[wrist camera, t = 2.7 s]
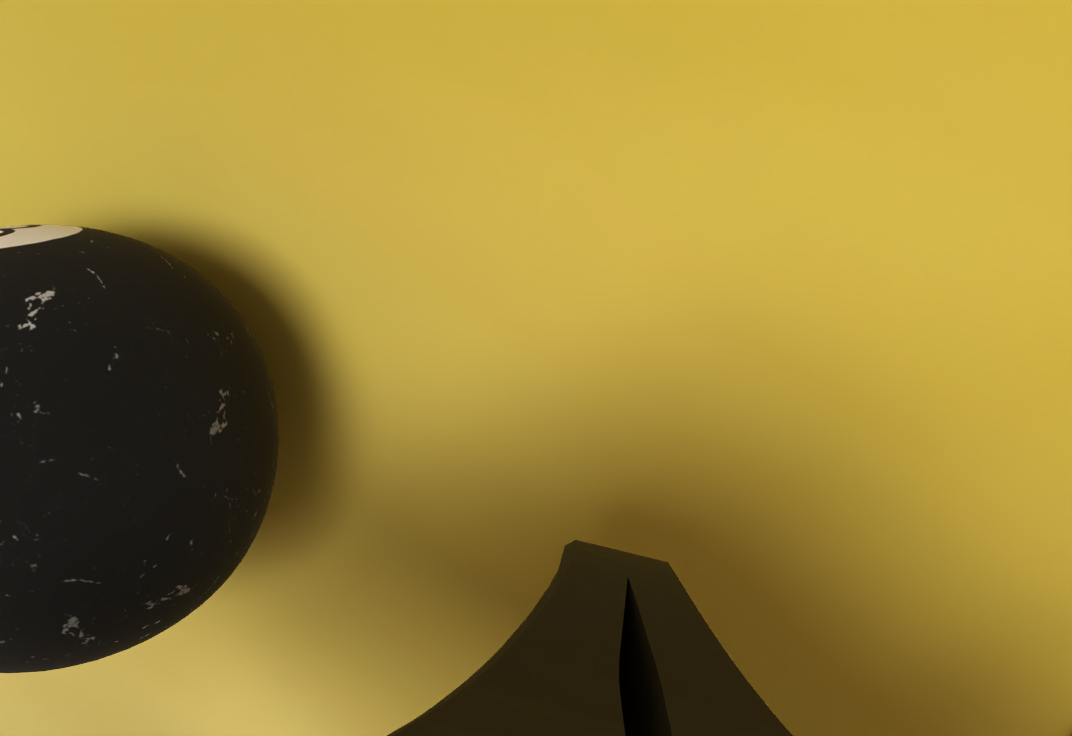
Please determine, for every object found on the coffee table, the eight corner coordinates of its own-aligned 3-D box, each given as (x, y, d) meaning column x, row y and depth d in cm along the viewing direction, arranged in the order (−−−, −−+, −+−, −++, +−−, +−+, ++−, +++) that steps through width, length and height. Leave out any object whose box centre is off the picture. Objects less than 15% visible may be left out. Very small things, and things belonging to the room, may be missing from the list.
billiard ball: (32, 535, 17) (-260, 772, 11) (-56, 208, 15) (-456, 297, 10) (349, 526, 16) (207, 772, 11) (298, 184, 15) (93, 263, 9)
